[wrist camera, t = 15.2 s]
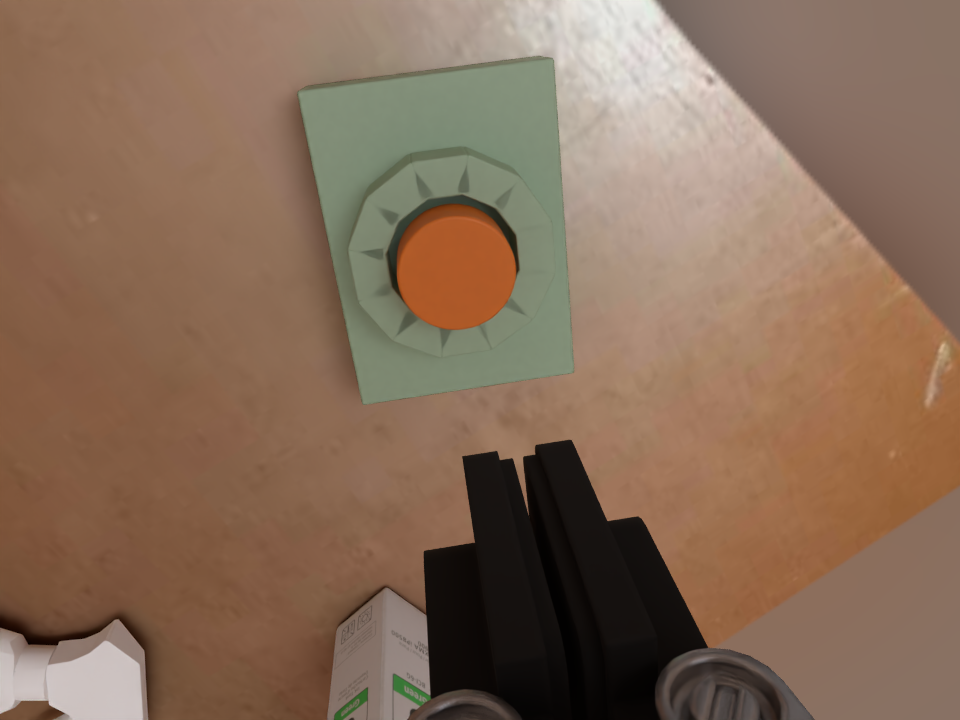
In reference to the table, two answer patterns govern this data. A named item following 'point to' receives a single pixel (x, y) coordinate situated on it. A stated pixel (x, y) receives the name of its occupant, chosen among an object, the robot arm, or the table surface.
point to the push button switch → (455, 267)
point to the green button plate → (437, 181)
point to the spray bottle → (77, 675)
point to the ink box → (380, 662)
